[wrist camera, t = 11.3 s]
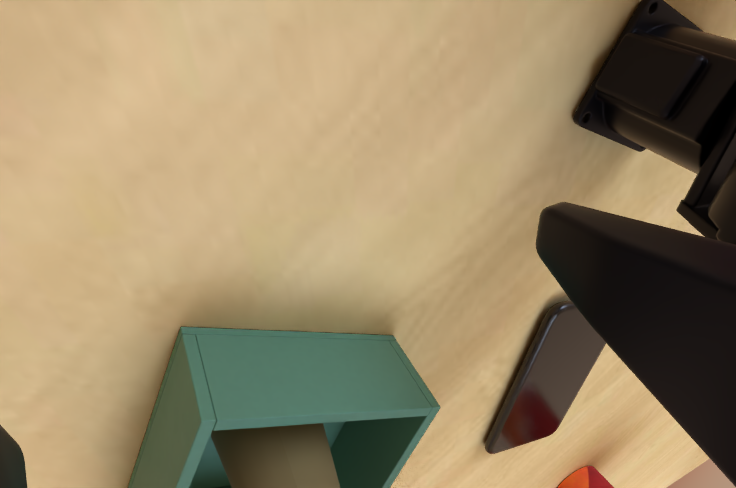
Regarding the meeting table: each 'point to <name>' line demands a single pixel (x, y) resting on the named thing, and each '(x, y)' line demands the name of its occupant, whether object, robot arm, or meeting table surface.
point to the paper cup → (585, 479)
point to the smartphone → (547, 379)
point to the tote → (284, 402)
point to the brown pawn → (277, 457)
